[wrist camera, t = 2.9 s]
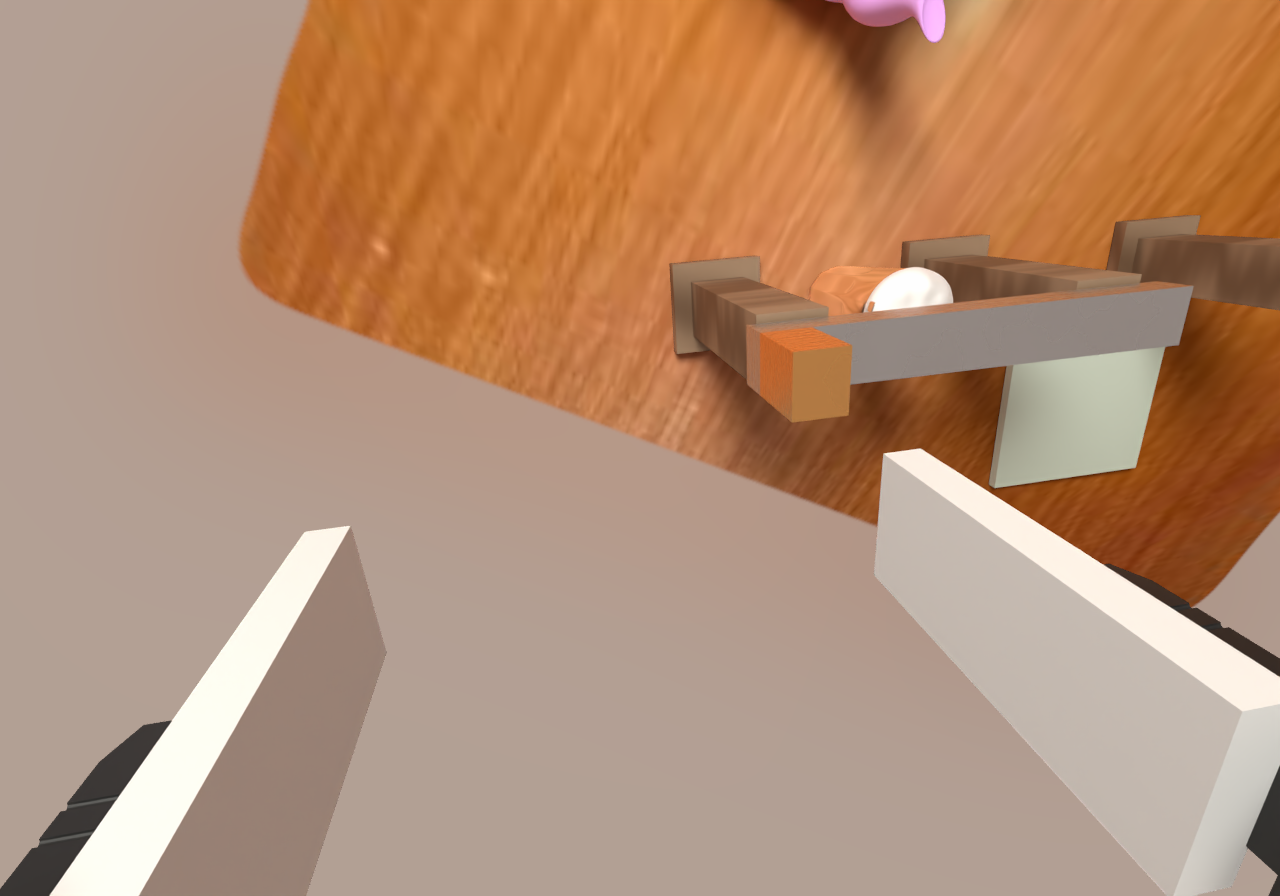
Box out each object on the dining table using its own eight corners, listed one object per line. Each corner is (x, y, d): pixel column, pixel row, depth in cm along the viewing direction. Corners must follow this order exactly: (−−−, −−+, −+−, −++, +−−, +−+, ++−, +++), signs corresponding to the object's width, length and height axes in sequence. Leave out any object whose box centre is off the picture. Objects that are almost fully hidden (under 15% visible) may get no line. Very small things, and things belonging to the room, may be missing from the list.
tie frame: (669, 263, 35) (731, 291, 24) (1188, 215, 39) (1446, 219, 28) (674, 351, 37) (733, 413, 26) (1168, 296, 41) (1403, 331, 30)
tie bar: (746, 325, 24) (792, 352, 20) (1156, 281, 26) (1282, 296, 22) (747, 384, 25) (791, 422, 21) (1144, 337, 27) (1261, 363, 23)
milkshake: (801, 241, 36) (893, 254, 27) (881, 265, 37) (996, 286, 28) (774, 318, 37) (854, 356, 28) (853, 339, 38) (953, 382, 29)
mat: (1011, 329, 40) (1018, 331, 39) (1164, 312, 41) (1173, 313, 41) (988, 484, 44) (994, 488, 43) (1128, 464, 45) (1135, 467, 45)
